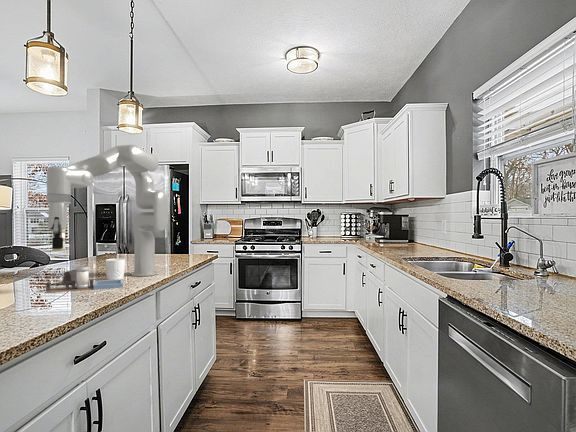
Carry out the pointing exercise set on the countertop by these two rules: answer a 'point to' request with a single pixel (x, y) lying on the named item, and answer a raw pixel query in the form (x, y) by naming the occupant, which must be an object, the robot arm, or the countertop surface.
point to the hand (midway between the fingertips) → (58, 247)
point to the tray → (108, 284)
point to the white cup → (115, 268)
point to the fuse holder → (66, 287)
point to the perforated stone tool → (70, 276)
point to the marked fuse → (63, 240)
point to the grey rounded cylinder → (82, 277)
